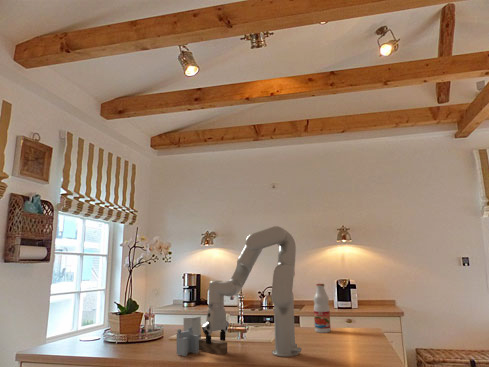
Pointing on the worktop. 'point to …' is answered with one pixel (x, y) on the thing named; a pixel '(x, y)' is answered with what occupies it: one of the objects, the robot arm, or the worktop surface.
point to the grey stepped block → (187, 342)
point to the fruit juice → (321, 310)
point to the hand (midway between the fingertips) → (215, 342)
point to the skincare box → (193, 325)
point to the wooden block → (213, 347)
